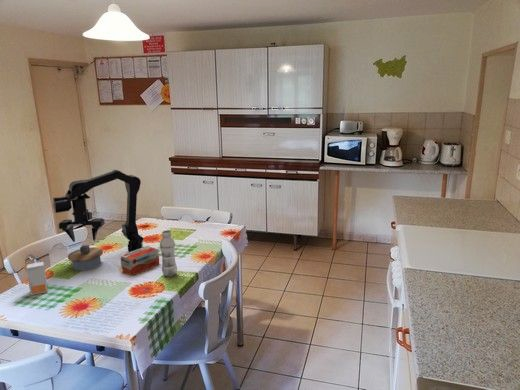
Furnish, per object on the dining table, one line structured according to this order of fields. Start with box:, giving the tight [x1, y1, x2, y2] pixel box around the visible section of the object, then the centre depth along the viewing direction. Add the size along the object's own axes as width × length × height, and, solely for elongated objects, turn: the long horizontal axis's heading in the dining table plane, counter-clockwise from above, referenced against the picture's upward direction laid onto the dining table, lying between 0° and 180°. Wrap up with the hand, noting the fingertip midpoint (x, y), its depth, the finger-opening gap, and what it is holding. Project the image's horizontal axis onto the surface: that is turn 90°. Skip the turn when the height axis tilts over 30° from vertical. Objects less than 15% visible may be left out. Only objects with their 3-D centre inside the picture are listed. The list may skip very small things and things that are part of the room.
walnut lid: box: [67, 244, 104, 262], centre depth 179 cm, size 15×15×4 cm
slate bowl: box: [71, 256, 102, 272], centre depth 180 cm, size 12×12×5 cm
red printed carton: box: [120, 245, 160, 276], centre depth 176 cm, size 15×8×8 cm, turn 143°
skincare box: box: [26, 261, 48, 296], centre depth 154 cm, size 6×4×12 cm
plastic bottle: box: [159, 230, 178, 277], centre depth 167 cm, size 6×7×20 cm
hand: (84, 241), depth 178 cm, fingers open, 9 cm apart
